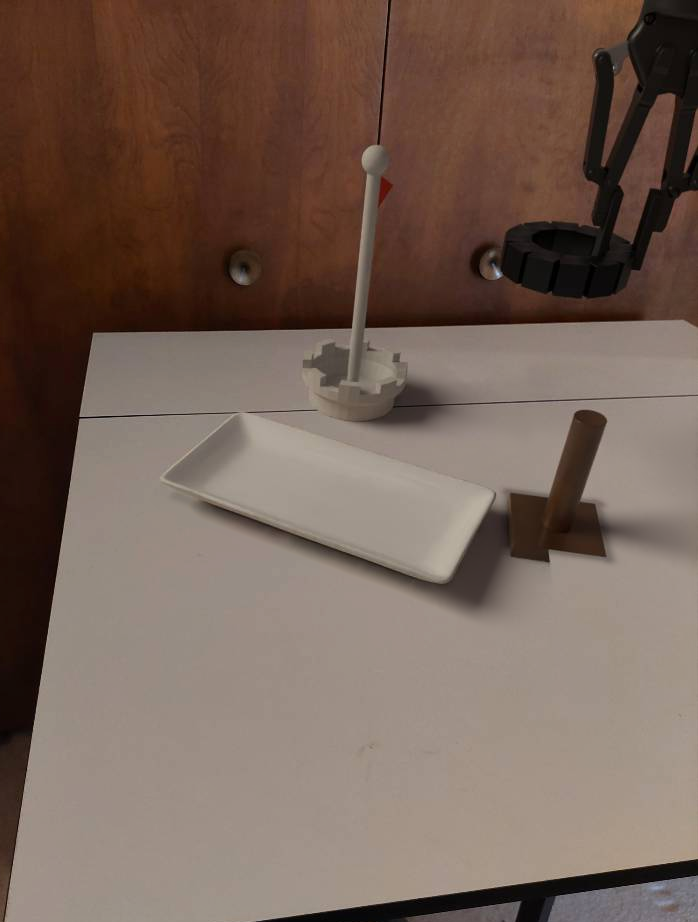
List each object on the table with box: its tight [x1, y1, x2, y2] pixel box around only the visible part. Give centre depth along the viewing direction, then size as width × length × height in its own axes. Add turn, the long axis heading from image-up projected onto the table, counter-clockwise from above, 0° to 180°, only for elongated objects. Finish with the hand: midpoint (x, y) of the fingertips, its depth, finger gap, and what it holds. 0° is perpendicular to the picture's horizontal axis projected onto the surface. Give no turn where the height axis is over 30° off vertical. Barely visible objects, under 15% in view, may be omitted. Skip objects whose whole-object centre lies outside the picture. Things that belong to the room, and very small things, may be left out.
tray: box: [159, 411, 497, 585], centre depth 83 cm, size 17×31×4 cm, turn 63°
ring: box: [499, 220, 636, 300], centre depth 76 cm, size 12×12×3 cm
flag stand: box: [301, 144, 409, 422], centre depth 93 cm, size 13×13×30 cm
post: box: [506, 409, 608, 562], centre depth 78 cm, size 9×9×14 cm
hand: (615, 262), depth 75 cm, fingers closed on ring, 3 cm apart
